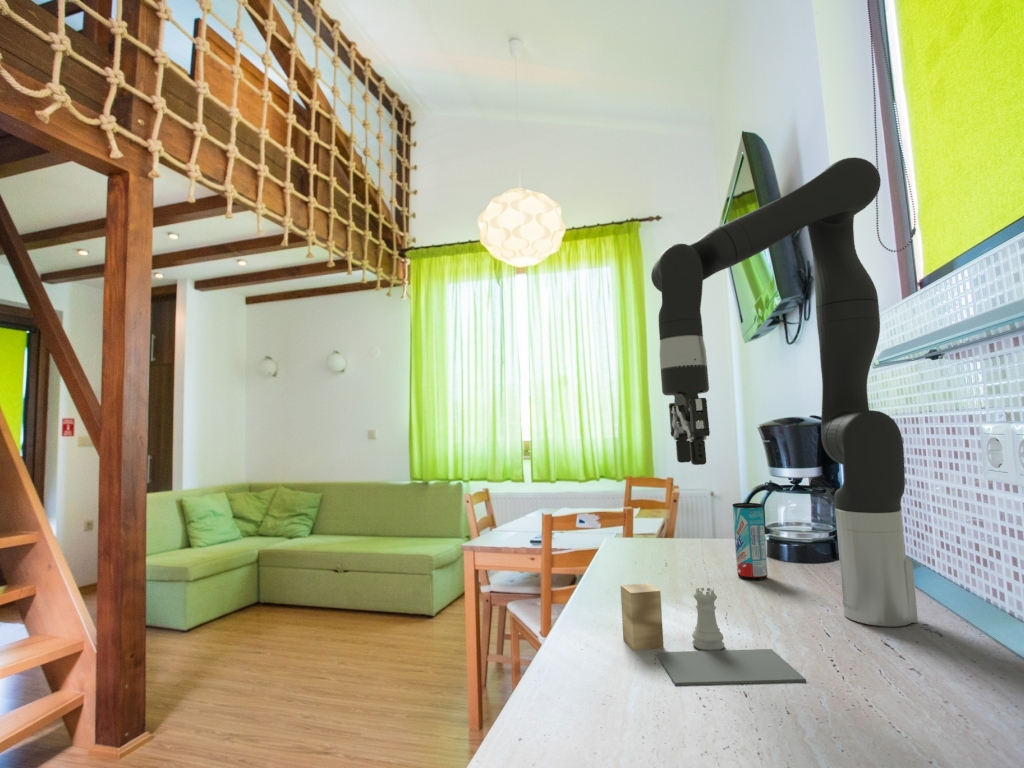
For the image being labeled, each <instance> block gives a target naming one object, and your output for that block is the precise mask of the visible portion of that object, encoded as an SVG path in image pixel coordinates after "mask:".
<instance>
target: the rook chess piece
mask: <svg viewBox="0 0 1024 768" xmlns="http://www.w3.org/2000/svg"><path fill="white" fill-rule="evenodd" d="M717 597H718V596H717V595H716V594H715V590H714V589H713V588H710V587H706V590H705V587H703V586H702V587H700V588H699V587H697V588H695V593H694V594H693V598H694V599H695V600H696V602H697V603H696V605H695V608H696V610H697V611H696V612H697V617H696V626H695V627H694V631H692V636H691V637H692V638H693V640H692V642H691V643H692V644H693V646H694V647H695V649H697V650H698V651H718V650H722V649H723V648H724V647H725V642H723V640H724V635H723V633H722V632H721V631H720V630H721V629H720V628H719V626H718V623H717V618H716V610H717V606H716V605H715V601H716V600H717Z"/></svg>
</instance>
